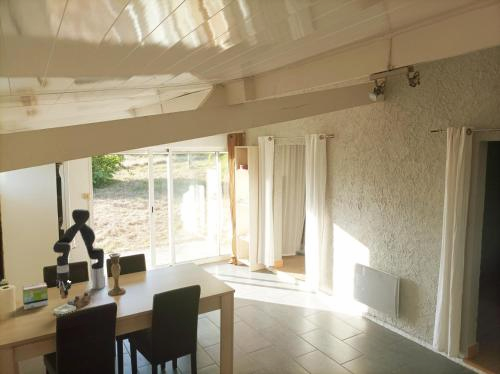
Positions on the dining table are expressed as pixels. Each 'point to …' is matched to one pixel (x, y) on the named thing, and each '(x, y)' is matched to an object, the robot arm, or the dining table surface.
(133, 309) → the dining table surface
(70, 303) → the grey rectangular block
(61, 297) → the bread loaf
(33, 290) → the tea box
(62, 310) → the tray
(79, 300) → the block
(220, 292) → the dining table surface
